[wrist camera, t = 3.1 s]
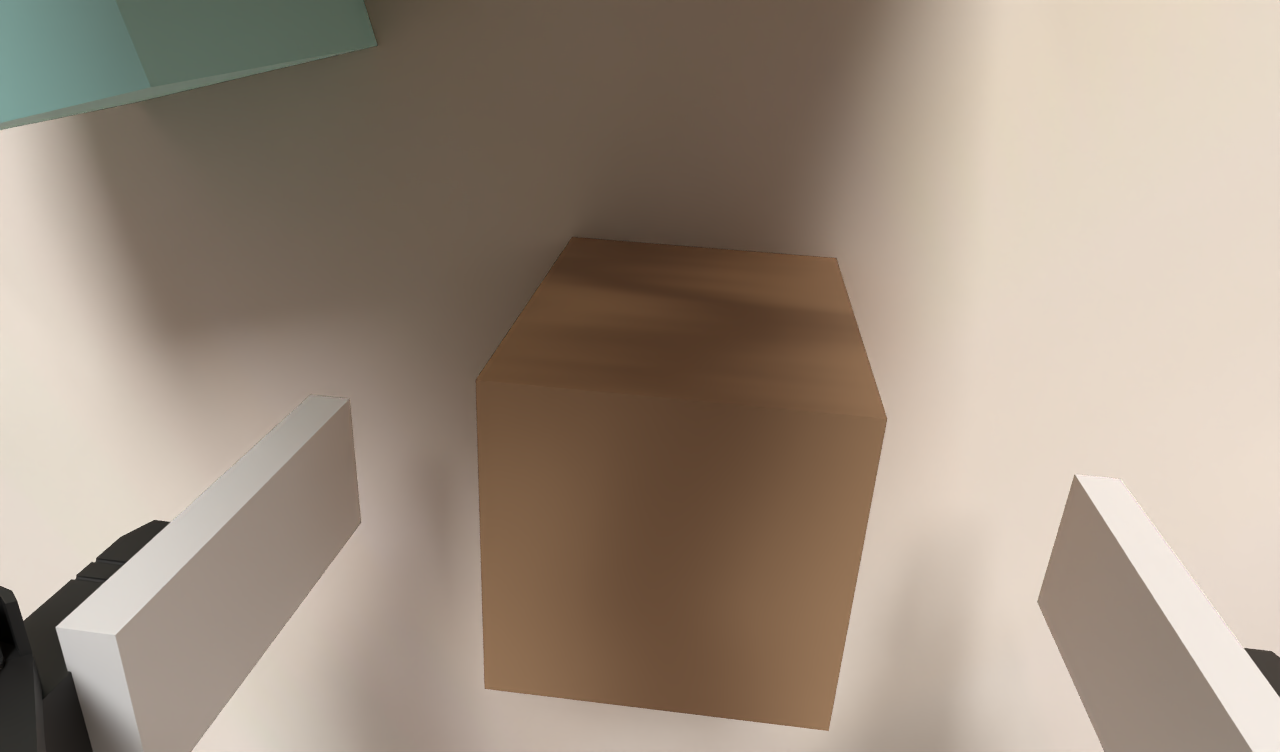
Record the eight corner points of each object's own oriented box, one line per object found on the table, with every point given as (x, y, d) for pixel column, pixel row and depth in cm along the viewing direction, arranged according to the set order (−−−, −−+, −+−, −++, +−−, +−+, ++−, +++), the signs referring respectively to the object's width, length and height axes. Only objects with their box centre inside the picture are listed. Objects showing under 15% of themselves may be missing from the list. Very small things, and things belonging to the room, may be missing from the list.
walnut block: (567, 462, 23) (484, 688, 16) (572, 236, 20) (475, 380, 13) (802, 486, 22) (829, 730, 15) (835, 257, 20) (886, 418, 13)
